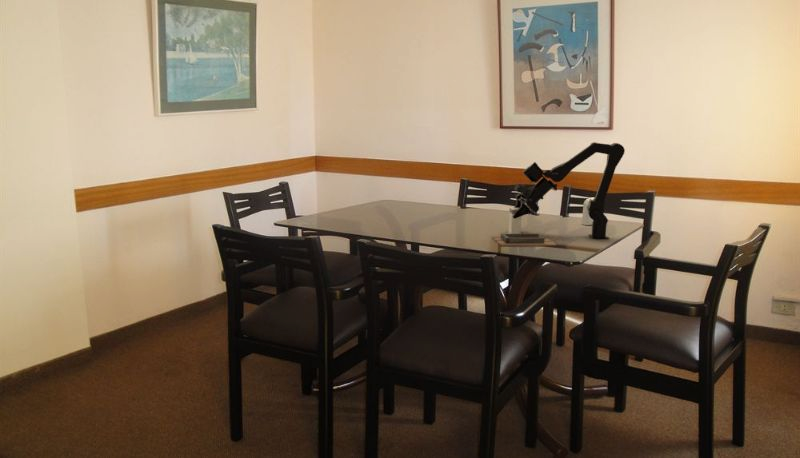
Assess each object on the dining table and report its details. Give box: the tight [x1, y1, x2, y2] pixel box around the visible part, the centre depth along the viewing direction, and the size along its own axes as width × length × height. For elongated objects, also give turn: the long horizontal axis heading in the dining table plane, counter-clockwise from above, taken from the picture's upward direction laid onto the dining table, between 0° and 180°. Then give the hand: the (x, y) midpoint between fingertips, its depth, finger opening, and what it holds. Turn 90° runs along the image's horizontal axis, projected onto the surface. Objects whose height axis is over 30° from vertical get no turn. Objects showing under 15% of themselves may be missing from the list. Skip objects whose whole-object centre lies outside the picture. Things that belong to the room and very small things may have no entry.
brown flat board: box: [491, 233, 557, 247], centre depth 282 cm, size 16×22×2 cm
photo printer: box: [581, 196, 595, 226], centre depth 322 cm, size 10×4×12 cm, turn 123°
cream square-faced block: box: [508, 207, 522, 234], centre depth 295 cm, size 5×4×11 cm
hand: (512, 216), depth 295 cm, fingers closed on cream square-faced block, 5 cm apart
